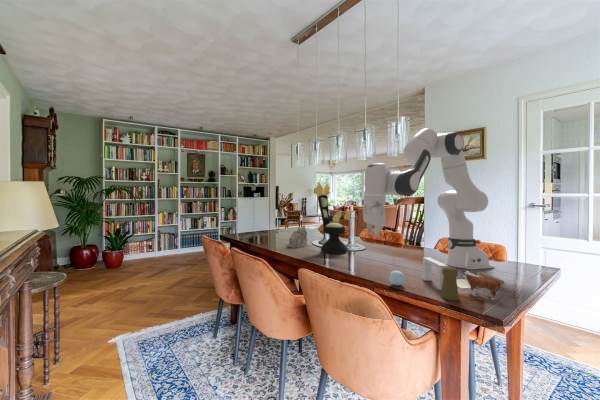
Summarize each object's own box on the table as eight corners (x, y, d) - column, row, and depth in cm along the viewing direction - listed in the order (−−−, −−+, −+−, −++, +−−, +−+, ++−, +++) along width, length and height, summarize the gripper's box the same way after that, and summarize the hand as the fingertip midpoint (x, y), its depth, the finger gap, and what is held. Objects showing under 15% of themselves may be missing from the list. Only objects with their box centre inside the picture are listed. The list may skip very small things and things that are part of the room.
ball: (401, 282, 129) (401, 268, 129) (406, 287, 123) (407, 272, 123) (387, 283, 129) (387, 269, 129) (392, 287, 123) (392, 272, 123)
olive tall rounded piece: (437, 294, 115) (437, 265, 115) (452, 294, 115) (453, 265, 115) (446, 300, 109) (446, 269, 109) (462, 299, 109) (462, 269, 109)
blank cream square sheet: (471, 279, 134) (471, 278, 134) (490, 288, 122) (490, 287, 122) (445, 279, 134) (445, 279, 134) (461, 288, 122) (461, 288, 122)
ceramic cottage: (299, 242, 229) (299, 222, 228) (312, 246, 215) (311, 225, 214) (281, 245, 221) (280, 225, 220) (293, 250, 207) (292, 228, 206)
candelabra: (341, 256, 181) (341, 180, 180) (308, 252, 192) (308, 180, 191) (352, 250, 198) (352, 181, 196) (321, 247, 209) (321, 181, 207)
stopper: (481, 278, 136) (481, 271, 136) (504, 288, 122) (504, 281, 122) (476, 278, 136) (477, 271, 136) (499, 288, 122) (499, 281, 122)
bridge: (429, 279, 135) (429, 257, 134) (447, 290, 120) (448, 265, 120) (422, 279, 135) (422, 257, 134) (440, 290, 120) (440, 265, 119)
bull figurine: (464, 289, 121) (465, 269, 120) (501, 299, 109) (502, 277, 109) (458, 291, 118) (458, 270, 118) (495, 302, 107) (496, 279, 107)
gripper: (390, 203, 117) (389, 239, 118) (374, 201, 138) (373, 232, 138) (374, 202, 117) (373, 238, 117) (360, 201, 137) (359, 231, 138)
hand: (373, 235), depth 128 cm, fingers open, 8 cm apart
